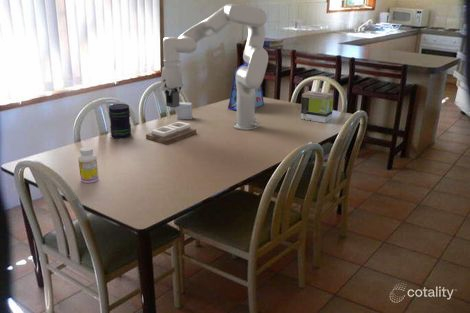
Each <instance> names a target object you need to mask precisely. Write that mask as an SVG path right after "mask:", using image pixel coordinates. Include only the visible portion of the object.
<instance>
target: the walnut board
mask: <svg viewBox="0 0 470 313" xmlns="http://www.w3.org/2000/svg"><path fill="white" fill-rule="evenodd" d="M196 134H197V129H196V128H192V127H190V129H189V130H186V131H183V132H180V133H177V134H175V135H172V136H169V137H166V138H160V137H156V136H153V135H152V132H149V133H147V134H145V139H146V140H147V139H148V140H150V141H155V142H158V143H161V144H165V145H168V144H172V143H174V142H177V141H179V140H182V139H185V138H188V137H191V136H192V135H196Z"/></svg>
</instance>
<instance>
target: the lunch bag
mask: <svg viewBox="0 0 470 313" xmlns="http://www.w3.org/2000/svg"><path fill="white" fill-rule="evenodd" d="M248 65H249V64H248V63H246V62H245V61H244V64H242V65H240V66H238V67H236V69H235V71H234V74H233V79H232V84H231V89H230V95H229V103H228V106H227V109H228V110H229V111H230V110H236V111H237V86H236V72H237V70H238V69H239V68H240V67H243V66H248ZM264 104H265V101H264V95H263V89H262V84H261V85H260V86H259V87H258V88H256V89H255V109H257V108H259V107H262V106H264Z"/></svg>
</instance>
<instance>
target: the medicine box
mask: <svg viewBox="0 0 470 313" xmlns="http://www.w3.org/2000/svg"><path fill="white" fill-rule="evenodd" d="M176 115H177V116H176V118H177V120H192V119H193V102H181V101H179V106H178V107H176Z"/></svg>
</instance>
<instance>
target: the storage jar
mask: <svg viewBox="0 0 470 313" xmlns="http://www.w3.org/2000/svg"><path fill="white" fill-rule="evenodd" d="M130 113H131V112H130V105H129V104H127V103H115V104H111V105H109V106H108V117H109V119H110V120H109V122H110V129H109V130H110V135H111V136H112V137H113V139H116V138H118V139H117V140H119V139H120V138H121V139H120V140H122V138H123V139H127V138H130V137H131V136H132V127H131V126H132V125H131V121H130V116H131V114H130ZM112 137H111V138H112Z"/></svg>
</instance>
